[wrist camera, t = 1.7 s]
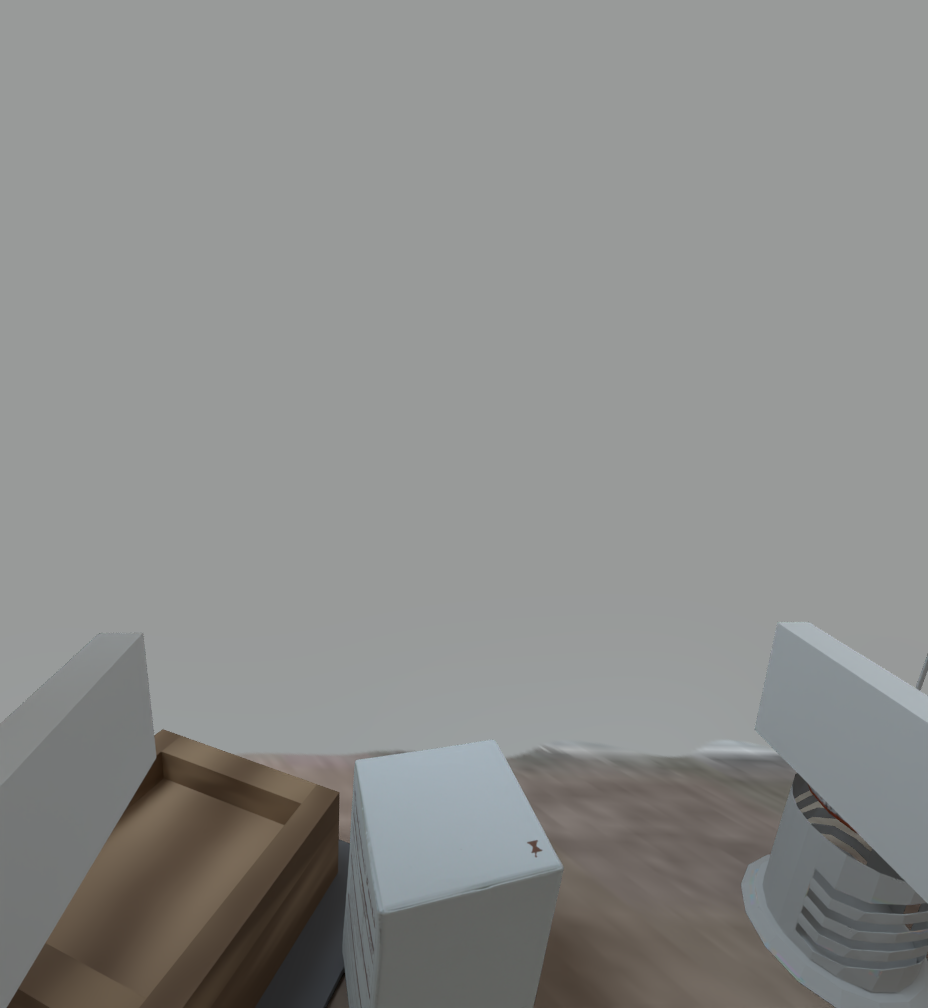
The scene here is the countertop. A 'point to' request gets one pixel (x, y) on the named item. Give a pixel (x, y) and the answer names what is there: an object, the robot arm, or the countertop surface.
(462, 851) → the supplement box
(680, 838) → the countertop surface
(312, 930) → the mat
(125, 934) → the tray
